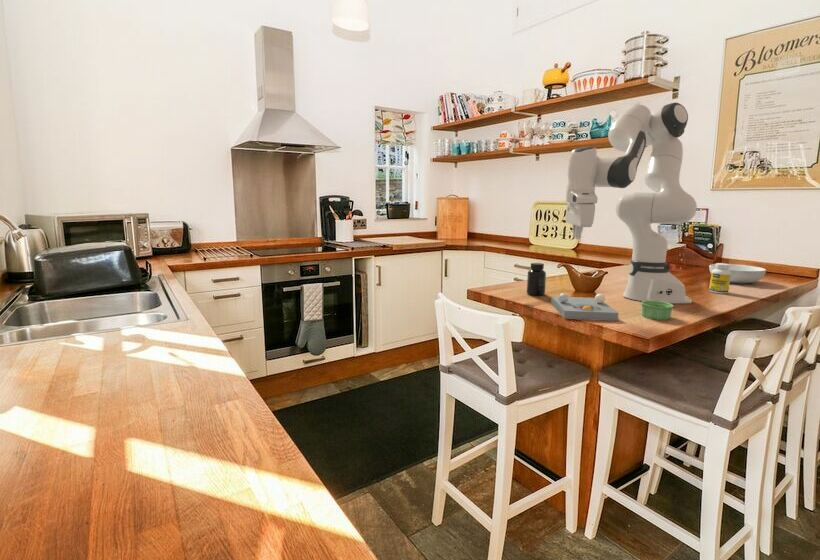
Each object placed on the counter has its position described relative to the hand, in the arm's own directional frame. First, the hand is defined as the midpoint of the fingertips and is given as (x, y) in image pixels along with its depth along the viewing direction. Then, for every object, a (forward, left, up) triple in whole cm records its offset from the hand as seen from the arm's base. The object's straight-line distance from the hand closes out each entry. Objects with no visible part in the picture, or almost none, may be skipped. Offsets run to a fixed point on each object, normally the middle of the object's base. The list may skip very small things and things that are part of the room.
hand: (576, 238), depth 151 cm
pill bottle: (-65, -31, -24) cm, 76 cm away
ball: (-1, +14, -22) cm, 26 cm away
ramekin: (-23, +12, -24) cm, 35 cm away
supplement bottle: (+10, -15, -24) cm, 30 cm away
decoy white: (-7, +7, -19) cm, 22 cm away
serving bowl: (-86, -57, -24) cm, 106 cm away
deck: (-1, +9, -23) cm, 25 cm away
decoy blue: (+5, +8, -19) cm, 21 cm away
